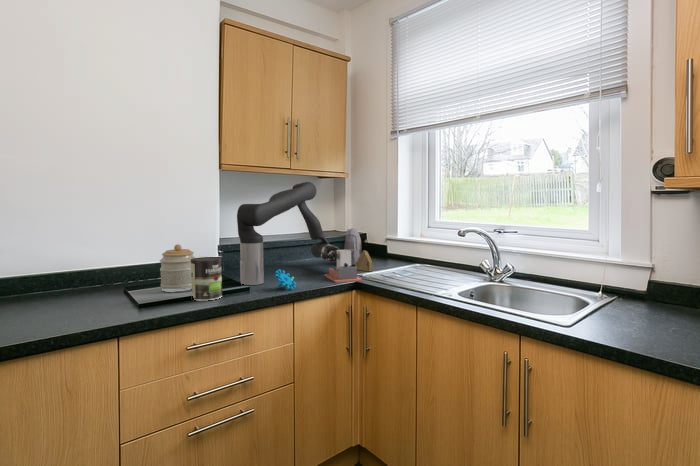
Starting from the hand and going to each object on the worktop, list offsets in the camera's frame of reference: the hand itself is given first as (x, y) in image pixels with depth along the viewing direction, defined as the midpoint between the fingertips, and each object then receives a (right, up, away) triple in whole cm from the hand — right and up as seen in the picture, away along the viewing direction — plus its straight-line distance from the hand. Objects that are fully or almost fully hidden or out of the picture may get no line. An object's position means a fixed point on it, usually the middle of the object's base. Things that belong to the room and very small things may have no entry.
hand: (341, 257), depth 170 cm
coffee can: (-47, -12, -35) cm, 60 cm away
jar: (-63, -11, -22) cm, 68 cm away
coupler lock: (+1, -9, -2) cm, 9 cm away
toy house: (+10, -8, +20) cm, 24 cm away
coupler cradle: (0, -9, -1) cm, 9 cm away
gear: (-21, -11, -21) cm, 32 cm away
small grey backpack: (+6, -7, +38) cm, 39 cm away
